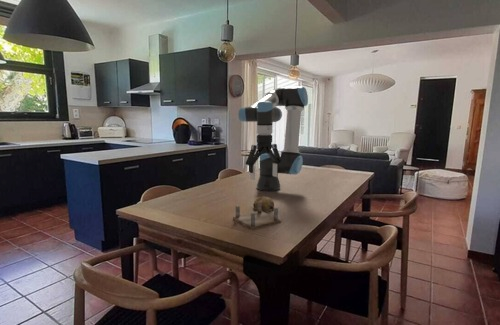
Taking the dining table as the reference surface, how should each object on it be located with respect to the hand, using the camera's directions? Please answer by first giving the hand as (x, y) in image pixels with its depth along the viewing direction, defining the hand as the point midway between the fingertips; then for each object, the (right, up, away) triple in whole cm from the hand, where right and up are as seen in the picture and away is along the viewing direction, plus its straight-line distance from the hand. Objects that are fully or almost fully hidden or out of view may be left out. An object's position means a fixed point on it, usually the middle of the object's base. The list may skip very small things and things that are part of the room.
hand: (264, 177), depth 138 cm
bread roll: (0, -16, +3) cm, 16 cm away
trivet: (-4, -18, -14) cm, 24 cm away
